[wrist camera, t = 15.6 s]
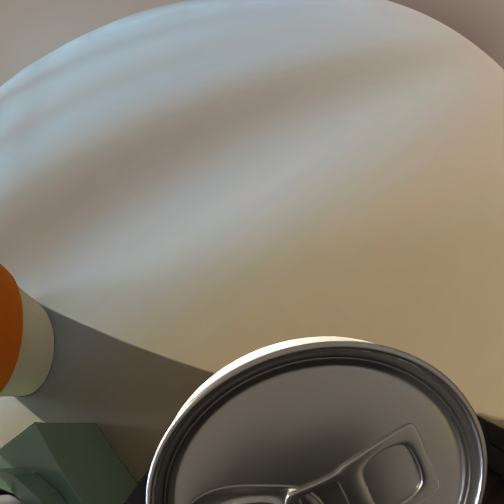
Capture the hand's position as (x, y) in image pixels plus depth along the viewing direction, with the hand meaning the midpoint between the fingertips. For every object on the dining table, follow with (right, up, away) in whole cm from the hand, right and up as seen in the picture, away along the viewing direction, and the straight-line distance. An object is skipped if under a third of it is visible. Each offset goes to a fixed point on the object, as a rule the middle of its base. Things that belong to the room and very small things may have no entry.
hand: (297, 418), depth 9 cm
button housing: (-13, -13, +7) cm, 20 cm away
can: (+1, -4, +5) cm, 7 cm away
